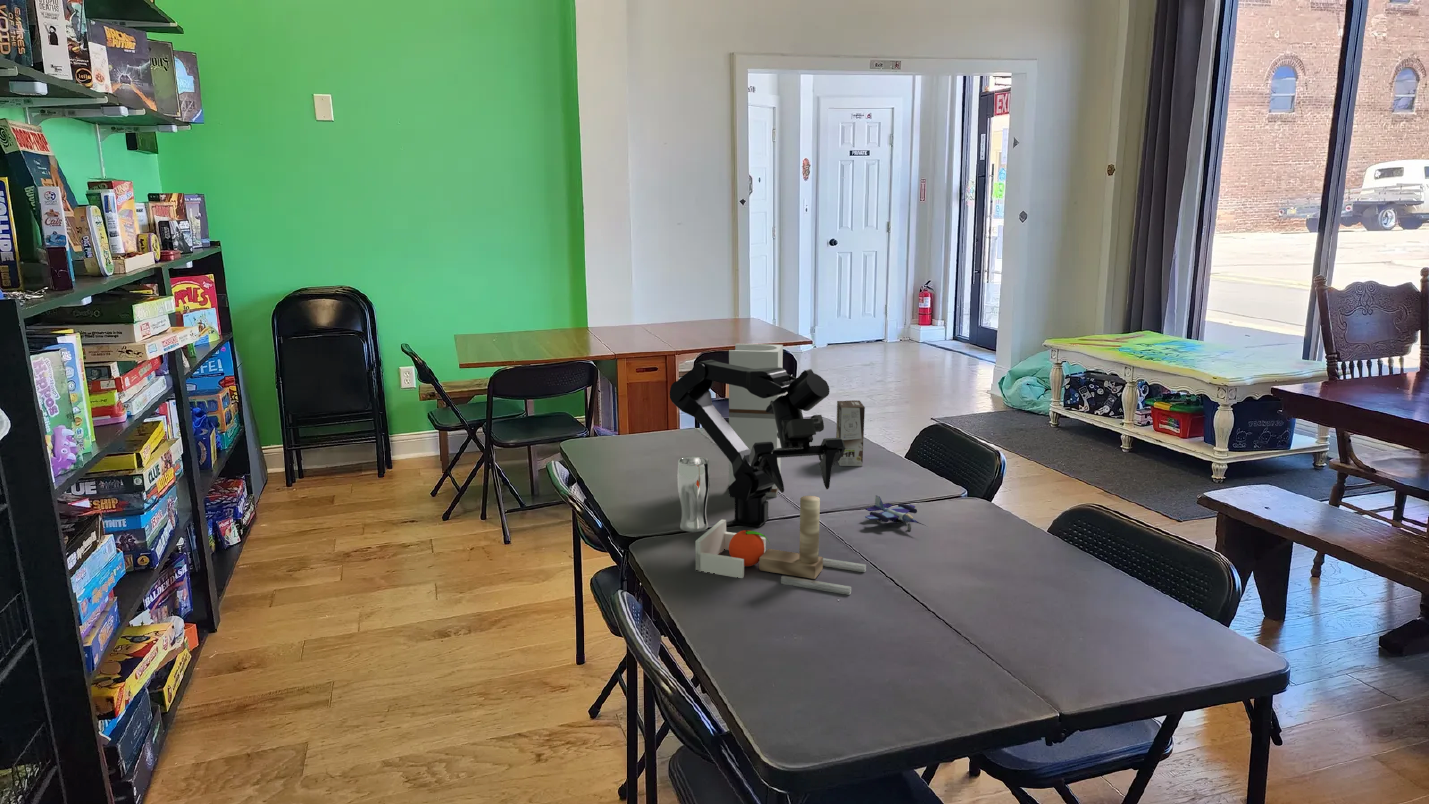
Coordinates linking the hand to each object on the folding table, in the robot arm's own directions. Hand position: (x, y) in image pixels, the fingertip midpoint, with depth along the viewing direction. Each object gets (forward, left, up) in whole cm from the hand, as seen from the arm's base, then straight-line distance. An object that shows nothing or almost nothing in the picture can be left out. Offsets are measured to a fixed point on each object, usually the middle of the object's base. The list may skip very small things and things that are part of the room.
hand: (805, 490), depth 179 cm
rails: (+7, -9, -14) cm, 17 cm away
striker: (0, -9, -13) cm, 16 cm away
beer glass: (-27, +6, -14) cm, 31 cm away
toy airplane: (+13, +24, -14) cm, 31 cm away
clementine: (-8, -9, -14) cm, 18 cm away
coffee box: (-9, +68, -14) cm, 70 cm away
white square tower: (-24, +36, -14) cm, 46 cm away
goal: (-12, -9, -14) cm, 20 cm away
